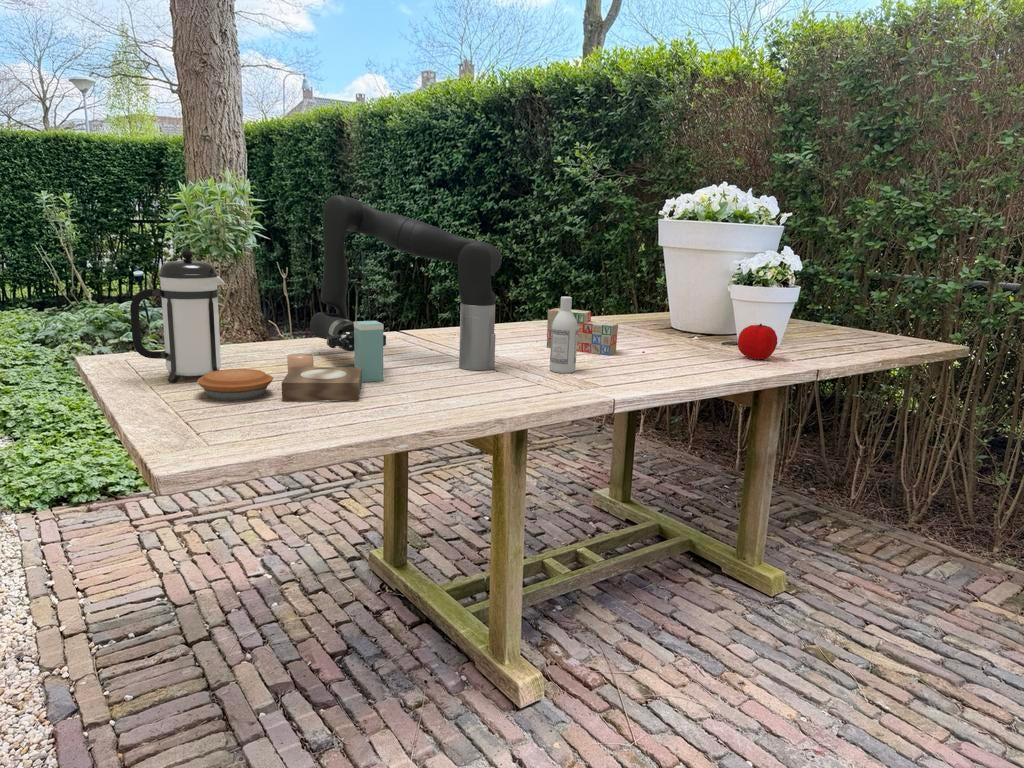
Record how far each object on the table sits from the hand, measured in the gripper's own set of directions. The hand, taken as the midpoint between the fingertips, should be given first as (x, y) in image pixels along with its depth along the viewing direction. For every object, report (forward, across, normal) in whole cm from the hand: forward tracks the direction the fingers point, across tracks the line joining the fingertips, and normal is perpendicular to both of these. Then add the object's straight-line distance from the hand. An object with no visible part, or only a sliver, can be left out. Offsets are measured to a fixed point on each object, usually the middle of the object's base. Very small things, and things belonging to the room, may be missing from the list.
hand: (365, 345), depth 180 cm
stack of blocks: (-15, +74, +8) cm, 76 cm away
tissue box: (+12, -13, +8) cm, 20 cm away
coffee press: (-12, -39, +8) cm, 42 cm away
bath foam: (+10, +52, +8) cm, 53 cm away
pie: (+8, -31, +8) cm, 33 cm away
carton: (+3, 0, +8) cm, 9 cm away
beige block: (-2, -15, +8) cm, 17 cm away
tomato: (+13, +121, +8) cm, 122 cm away
